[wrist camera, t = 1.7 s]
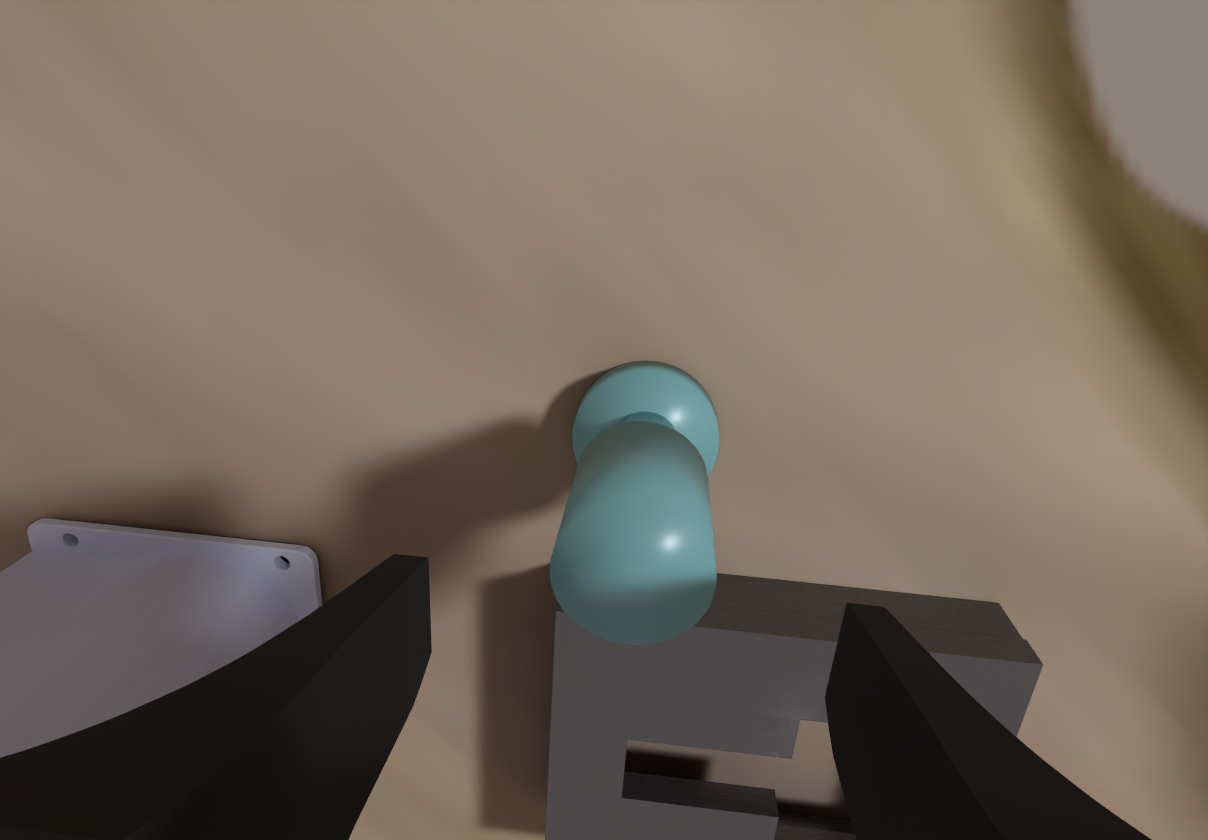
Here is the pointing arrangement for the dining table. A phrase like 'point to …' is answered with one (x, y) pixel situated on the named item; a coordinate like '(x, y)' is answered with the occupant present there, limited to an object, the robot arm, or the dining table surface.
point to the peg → (639, 507)
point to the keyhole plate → (740, 704)
